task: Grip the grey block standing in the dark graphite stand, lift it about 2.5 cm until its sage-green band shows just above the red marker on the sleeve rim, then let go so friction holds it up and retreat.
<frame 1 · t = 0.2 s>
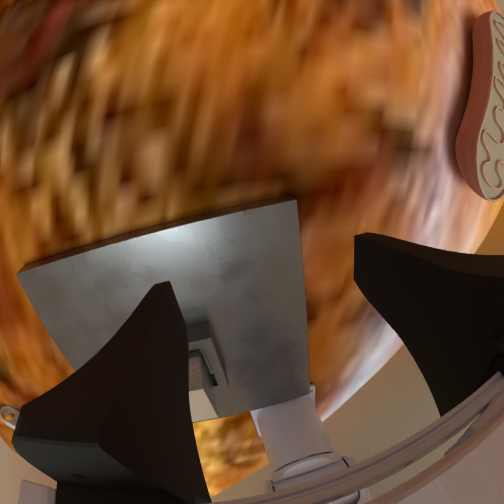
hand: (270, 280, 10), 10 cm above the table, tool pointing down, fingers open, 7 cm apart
grey block: (182, 381, 20), point 4 cm above the table, slide at 0.0 cm
anatomical model: (474, 95, 19), on the table
stand: (181, 344, 23), on the table
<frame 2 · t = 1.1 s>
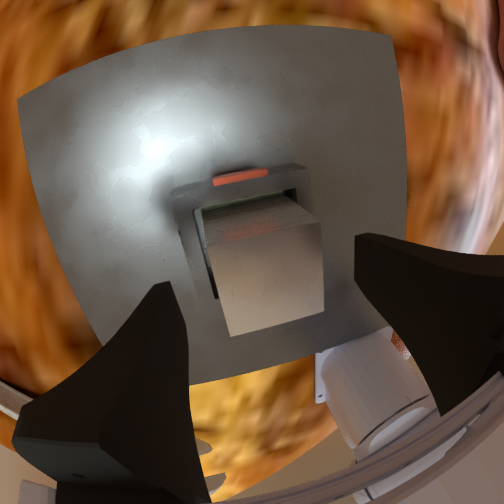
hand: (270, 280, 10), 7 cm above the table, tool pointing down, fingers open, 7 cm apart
grey block: (256, 253, 13), point 4 cm above the table, slide at 0.0 cm
anatomical model: (502, 25, 12), on the table
stand: (240, 223, 17), on the table
wrench: (78, 407, 21), on the table
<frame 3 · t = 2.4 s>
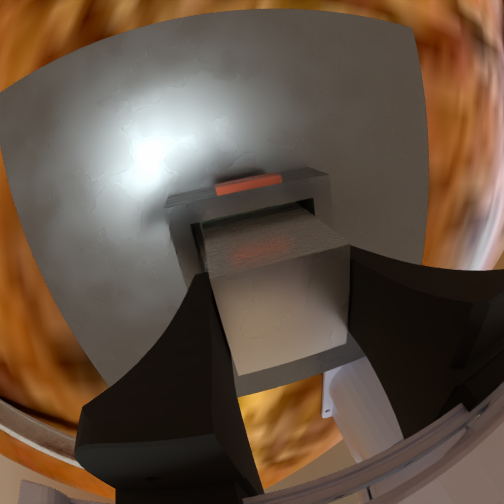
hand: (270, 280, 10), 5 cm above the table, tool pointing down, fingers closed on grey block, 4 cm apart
grey block: (267, 275, 11), point 4 cm above the table, slide at 0.0 cm, touching gripper
stand: (246, 235, 15), on the table
wrench: (73, 422, 19), on the table
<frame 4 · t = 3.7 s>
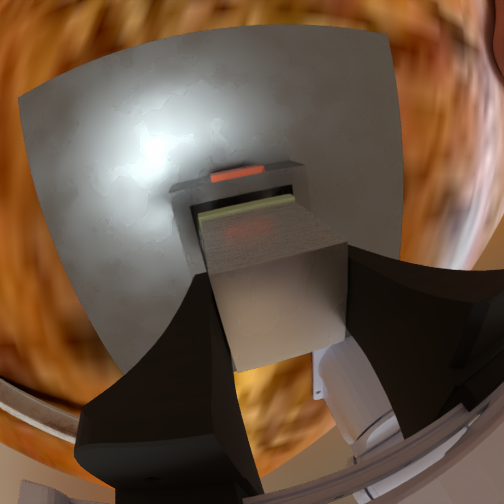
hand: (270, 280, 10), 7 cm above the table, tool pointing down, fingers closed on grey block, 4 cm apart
grey block: (266, 273, 11), point 7 cm above the table, slide at 2.3 cm, touching gripper
anatomical model: (498, 22, 12), on the table
stand: (238, 219, 17), on the table
wrench: (76, 403, 21), on the table
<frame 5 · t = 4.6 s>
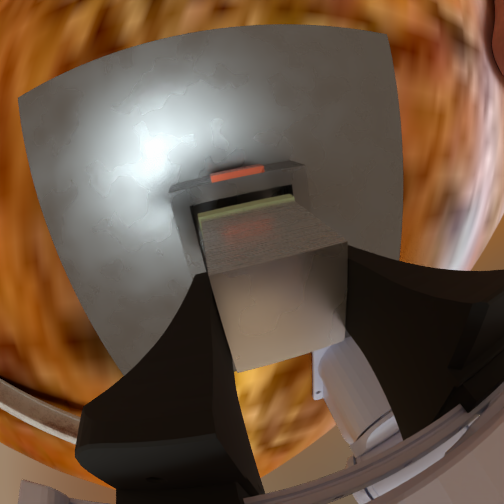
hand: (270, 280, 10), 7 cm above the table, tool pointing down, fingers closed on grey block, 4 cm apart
grey block: (266, 273, 11), point 7 cm above the table, slide at 2.3 cm, touching gripper
anatomical model: (498, 22, 12), on the table
stand: (238, 219, 17), on the table
wrench: (76, 403, 21), on the table
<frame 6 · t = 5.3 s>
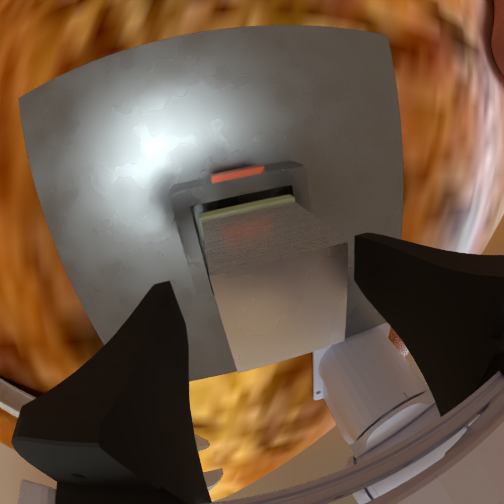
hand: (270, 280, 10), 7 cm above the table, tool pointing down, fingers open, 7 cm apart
grey block: (267, 273, 11), point 7 cm above the table, slide at 2.3 cm
anatomical model: (497, 21, 12), on the table
stand: (238, 220, 17), on the table
wrench: (76, 403, 21), on the table
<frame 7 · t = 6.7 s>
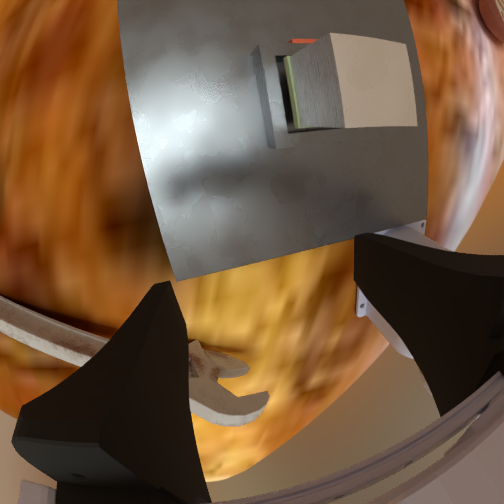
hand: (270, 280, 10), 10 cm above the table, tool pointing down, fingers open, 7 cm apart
grey block: (347, 85, 11), point 7 cm above the table, slide at 2.3 cm
stand: (298, 96, 17), on the table
wrench: (95, 325, 22), on the table
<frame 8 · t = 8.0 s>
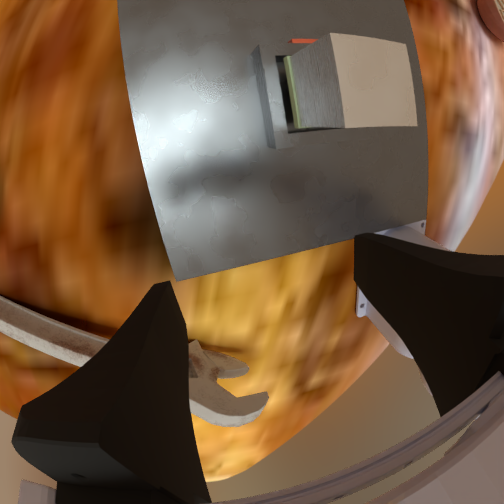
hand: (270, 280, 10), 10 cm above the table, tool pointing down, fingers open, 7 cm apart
grey block: (347, 85, 11), point 7 cm above the table, slide at 2.3 cm
stand: (298, 96, 17), on the table
wrench: (94, 325, 22), on the table
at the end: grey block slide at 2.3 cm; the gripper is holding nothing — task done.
